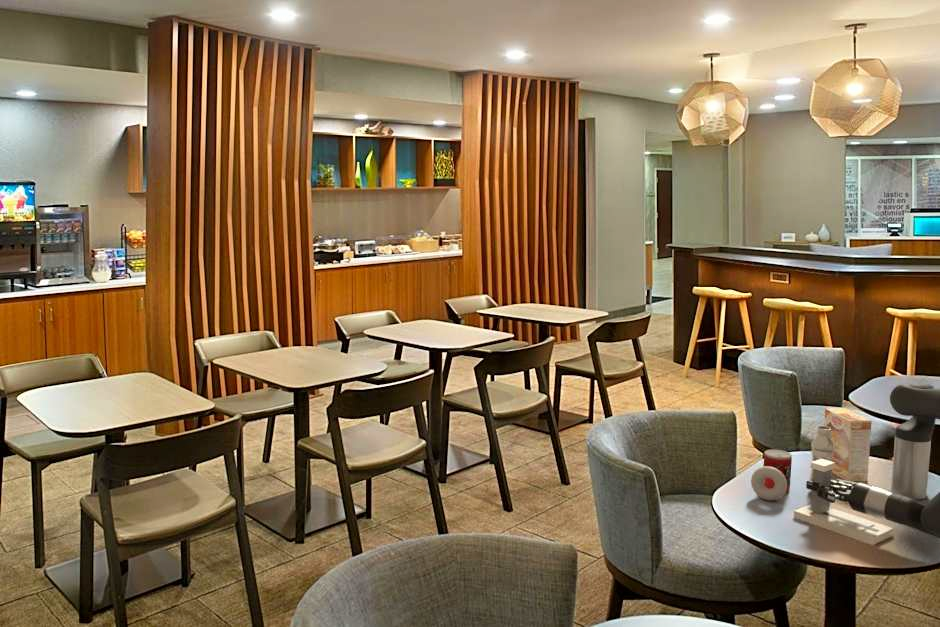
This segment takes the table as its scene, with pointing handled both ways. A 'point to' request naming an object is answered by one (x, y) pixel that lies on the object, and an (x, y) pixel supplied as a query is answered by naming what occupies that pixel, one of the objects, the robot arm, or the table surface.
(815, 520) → the fader deck
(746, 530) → the table surface
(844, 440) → the coffeecake box
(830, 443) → the plastic bottle
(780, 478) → the donut
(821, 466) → the slider knob
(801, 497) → the table surface
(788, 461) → the canned food
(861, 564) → the table surface
